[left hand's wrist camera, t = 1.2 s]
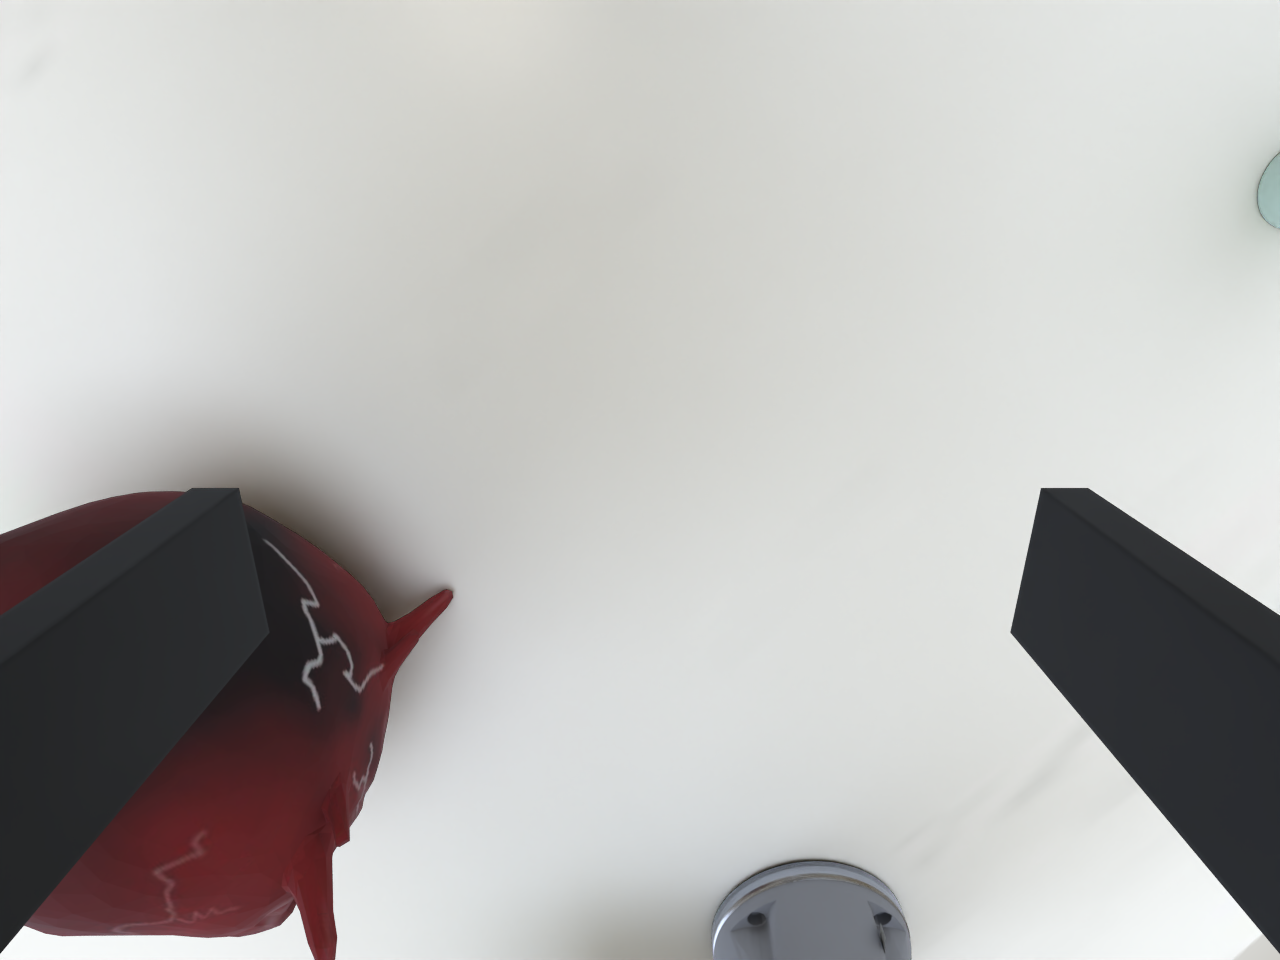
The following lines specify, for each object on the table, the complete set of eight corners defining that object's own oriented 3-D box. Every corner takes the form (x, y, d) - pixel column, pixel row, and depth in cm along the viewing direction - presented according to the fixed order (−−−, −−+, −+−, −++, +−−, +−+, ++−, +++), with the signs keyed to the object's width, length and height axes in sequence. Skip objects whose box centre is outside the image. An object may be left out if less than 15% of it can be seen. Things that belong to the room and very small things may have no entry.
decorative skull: (179, 1052, 43) (409, 960, 30) (-339, 929, 33) (-315, 720, 21) (321, 723, 59) (508, 575, 46) (1, 576, 49) (129, 339, 37)
